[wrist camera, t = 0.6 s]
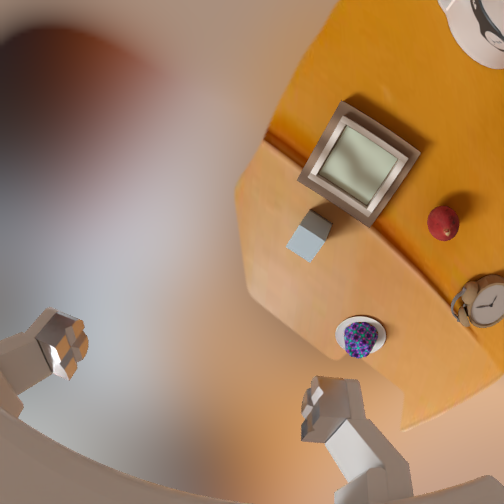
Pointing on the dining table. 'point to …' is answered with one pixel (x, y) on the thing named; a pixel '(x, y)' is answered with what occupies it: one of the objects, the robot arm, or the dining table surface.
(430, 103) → the dining table surface
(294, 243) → the light blue-grey block
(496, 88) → the dining table surface
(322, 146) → the tray
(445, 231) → the onion
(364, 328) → the purple and white hat
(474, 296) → the alarm clock
